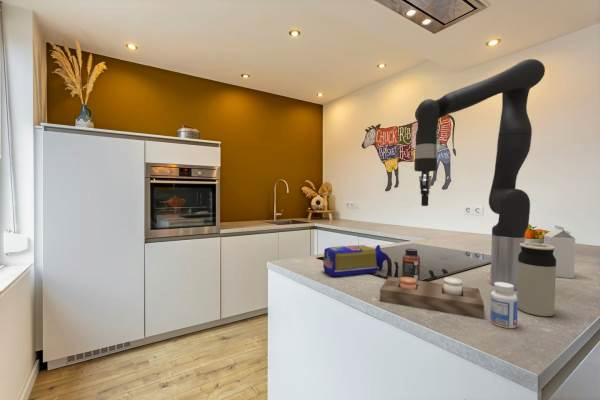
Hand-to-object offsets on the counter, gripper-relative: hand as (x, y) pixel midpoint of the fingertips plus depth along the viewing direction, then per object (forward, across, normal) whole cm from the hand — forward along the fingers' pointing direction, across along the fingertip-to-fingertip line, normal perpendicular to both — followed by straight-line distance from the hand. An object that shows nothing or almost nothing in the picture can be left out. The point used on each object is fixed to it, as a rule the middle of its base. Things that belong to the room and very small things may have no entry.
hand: (424, 205), depth 106 cm
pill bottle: (+27, -29, -20) cm, 45 cm away
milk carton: (+27, +30, -46) cm, 61 cm away
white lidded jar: (+25, -21, -9) cm, 34 cm away
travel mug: (+27, -16, -29) cm, 43 cm away
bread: (+27, -2, +25) cm, 37 cm away
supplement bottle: (+27, -3, +4) cm, 28 cm away
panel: (+27, -21, -3) cm, 34 cm away
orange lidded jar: (+26, -21, +3) cm, 34 cm away
